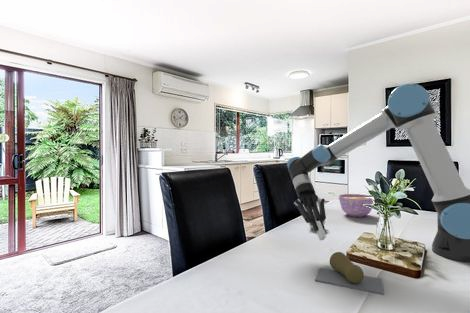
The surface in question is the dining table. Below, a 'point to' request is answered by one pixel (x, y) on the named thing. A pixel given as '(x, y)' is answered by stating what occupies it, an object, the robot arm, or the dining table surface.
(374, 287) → the mat
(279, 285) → the dining table surface
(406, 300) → the dining table surface
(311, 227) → the die
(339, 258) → the olive waisted cylinder
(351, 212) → the purple ceramic bowl
